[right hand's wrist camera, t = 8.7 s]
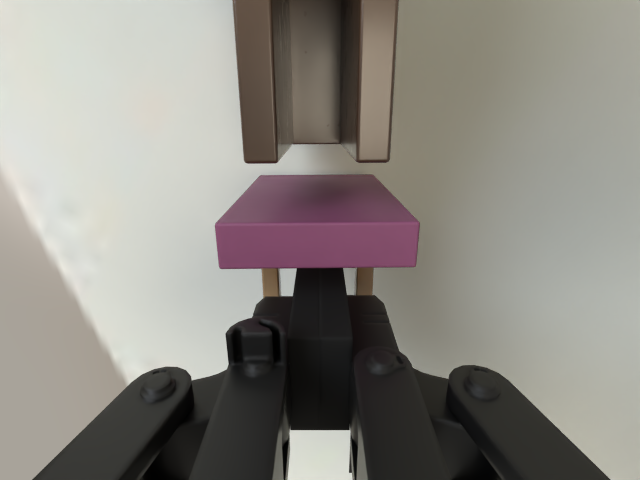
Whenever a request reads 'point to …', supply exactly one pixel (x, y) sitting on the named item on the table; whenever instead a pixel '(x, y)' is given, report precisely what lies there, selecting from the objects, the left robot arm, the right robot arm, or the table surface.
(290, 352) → the right robot arm
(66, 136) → the table surface
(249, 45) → the drawer
